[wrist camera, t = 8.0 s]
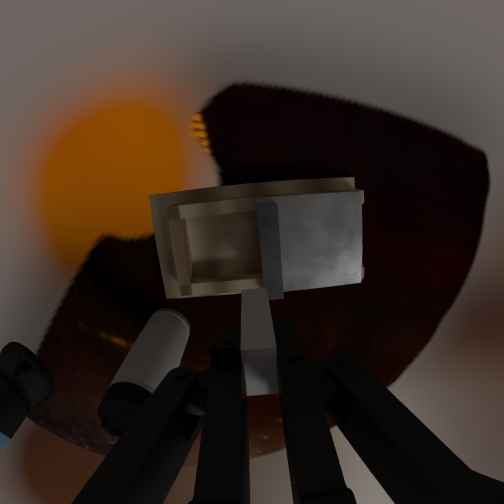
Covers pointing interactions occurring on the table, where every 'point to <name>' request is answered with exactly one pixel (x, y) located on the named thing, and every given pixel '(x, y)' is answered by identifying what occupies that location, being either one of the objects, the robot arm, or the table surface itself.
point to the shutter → (309, 240)
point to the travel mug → (144, 369)
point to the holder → (220, 234)
